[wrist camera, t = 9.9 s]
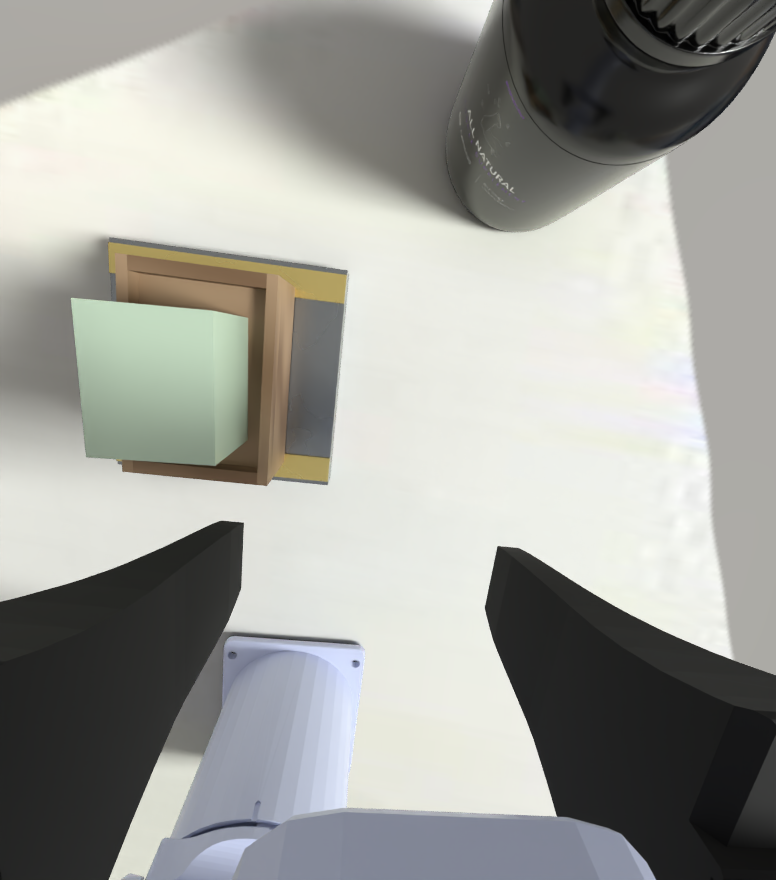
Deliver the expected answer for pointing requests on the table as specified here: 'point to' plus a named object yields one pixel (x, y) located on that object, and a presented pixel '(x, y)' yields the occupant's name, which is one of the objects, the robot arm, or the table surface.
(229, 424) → the pale green block
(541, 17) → the supplement bottle
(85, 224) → the table surface
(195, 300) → the open wooden box
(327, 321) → the dock
